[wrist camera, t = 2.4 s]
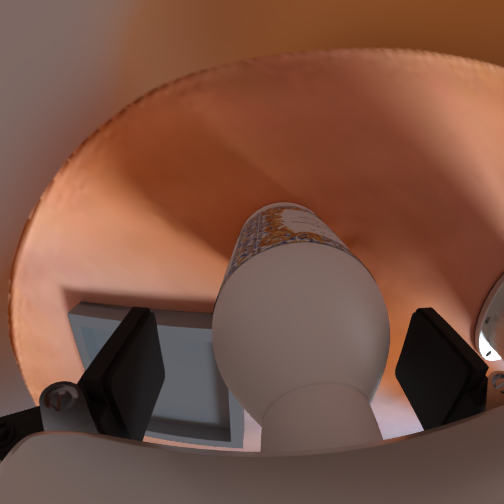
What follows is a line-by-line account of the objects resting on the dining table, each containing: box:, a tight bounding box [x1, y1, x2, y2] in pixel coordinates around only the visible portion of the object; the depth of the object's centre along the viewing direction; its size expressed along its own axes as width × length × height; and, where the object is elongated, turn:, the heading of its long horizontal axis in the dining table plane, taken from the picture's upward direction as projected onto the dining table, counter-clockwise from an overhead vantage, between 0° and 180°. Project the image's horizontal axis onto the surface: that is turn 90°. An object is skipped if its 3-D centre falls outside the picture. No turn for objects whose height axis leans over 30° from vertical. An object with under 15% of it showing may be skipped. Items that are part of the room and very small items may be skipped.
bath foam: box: [212, 202, 390, 452], centre depth 13 cm, size 7×7×20 cm
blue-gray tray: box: [68, 302, 244, 448], centre depth 26 cm, size 16×16×2 cm
